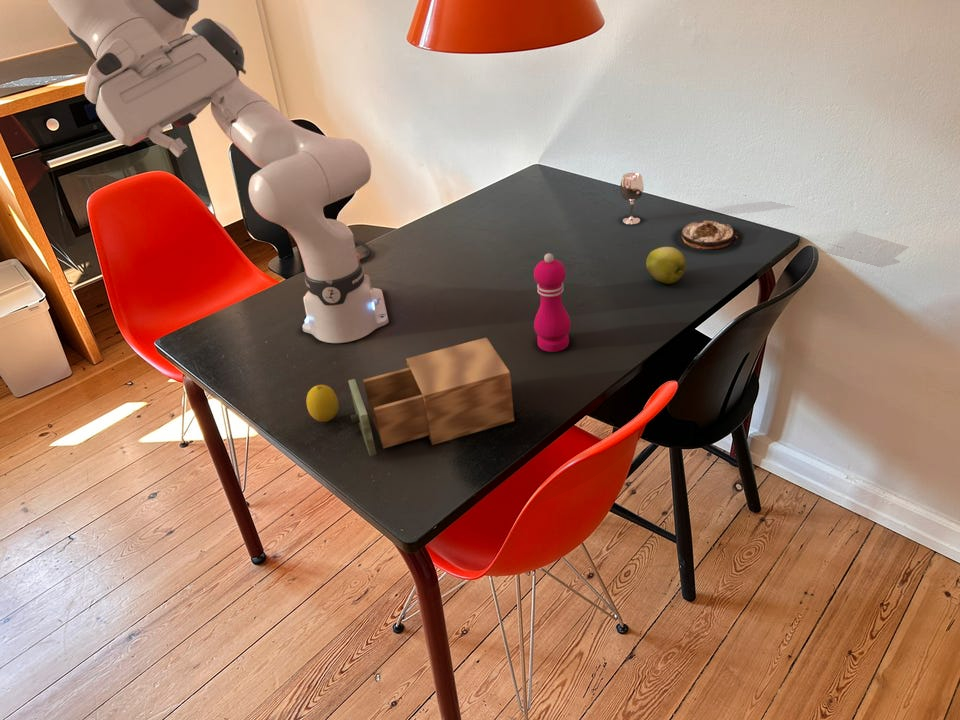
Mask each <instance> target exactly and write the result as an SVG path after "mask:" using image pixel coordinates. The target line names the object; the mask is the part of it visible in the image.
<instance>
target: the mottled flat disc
mask: <svg viewBox="0 0 960 720" xmlns="http://www.w3.org/2000/svg"><path fill="white" fill-rule="evenodd" d="M680 235H681V236H680V238H682V243H683V244H686V245H687V246H689V247H691V248H694V249H696V250H700V251H717V250H722V249H726V248H727V247H728V246H730V245H732V243H733V244H736V242H735V241H734V239H735V238H736V239H738V238H739V237H738V236H737V235H736V232H735V228H734V227H732V226H731V225H730V224H728V223H726V224H724V222H720V223H719V222H718V221H714V220H705V219H704V220H702V221H692V222H690V223H688V224H686V225H685V226H684V227H683V228H682V230H681V233H680Z"/></svg>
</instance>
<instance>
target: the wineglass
mask: <svg viewBox="0 0 960 720" xmlns="http://www.w3.org/2000/svg"><path fill="white" fill-rule="evenodd" d="M621 177H622V178H621V181H620V187H619V190H620V191H619V192H620V196H621V197H622V198H623V199H624V200H626V201H629V209H630V216H627V217H624V218H623V219H622V223H624V224H626V225H637V224H640V222H641V219H640V218H639V217H637V216H634V214H633V209H634V205H635V204H634V201H637V200H640V199H641V197H642V196H643V194H644V189H645V187H644V180H643V176H642V174H641V173H639V172H627V173H624V174H623V175H622V176H621Z"/></svg>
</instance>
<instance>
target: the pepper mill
mask: <svg viewBox="0 0 960 720" xmlns="http://www.w3.org/2000/svg"><path fill="white" fill-rule="evenodd" d="M566 273H567V272H566V268H565V265H564V264H563V263H562V261H559V260H558V259H555V258H554V254H552V253H550V252H548V253H545V254H544V257H543V260H541V261H539V262H538V263H537V264H536V266H535V267H534V270H533V278H534V281H535V282H536V283H537V284H536V286H537V287H536V288H537V293H538V295H539V297H540V304H539V307H538V310H537V313H536V315H535V317H534V321H533V329H534V332H535V333H536V335H537V338H536V341H537V346H538V348H539V349H540V350H542V351H544V352H548V353H557V352H561V351H563V350H565V349H567V347H568V346H569V344H570V336H569V332H570V331H571V327H572V326H571V325H572V324H571V319H570V318H571V317H570V315H569V314H568V312H567V310H566V309H565V307H564V305H563V302H562V293H563V292H564V289H565V288H564V281H565V279H566Z"/></svg>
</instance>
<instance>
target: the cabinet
mask: <svg viewBox="0 0 960 720" xmlns="http://www.w3.org/2000/svg"><path fill="white" fill-rule="evenodd" d="M405 359H406V360H405V361H406V365H407V367H406V368H410V370H411V372H412V374H413V376H414V379H415V381H416V383H417V385H418V387H419V389H420V391H421V393H422V395H423V398H424V404H425V410H426V416H427V422H428V427H429V433H430V435H428V436H427V437H428V439H429V441H430V444H431V445H432V446H434V445H437V444H440V443H444V442H448V441H451V440H454V439H457V438H461V437H464V436H469V435H471V434H474V433H478V432H483V431H485V430H489V429H492V428H495V427H499V426H503V425H505V424H509V423H512V422H515V412H514V402H513V391H512V390H513V389H512V379H511V372H510V370H509V369H508V367H507V365H506V364H505V363H504V361H503V360H502V358H501V357H500V355H499V354H498V352H497V351H496V350H495V348H494V346H493V345H492V344H491V342H490V340H489V339H488V337H483V338H479V339H475V340H472V341H471V340H470V341H468V342H464V343H460V344H456V345H453V346H449V347H445V348H440V349H437V350H434V351H430V352H426V353H422V354H417V355H415V356H411V357H406V358H405Z"/></svg>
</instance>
